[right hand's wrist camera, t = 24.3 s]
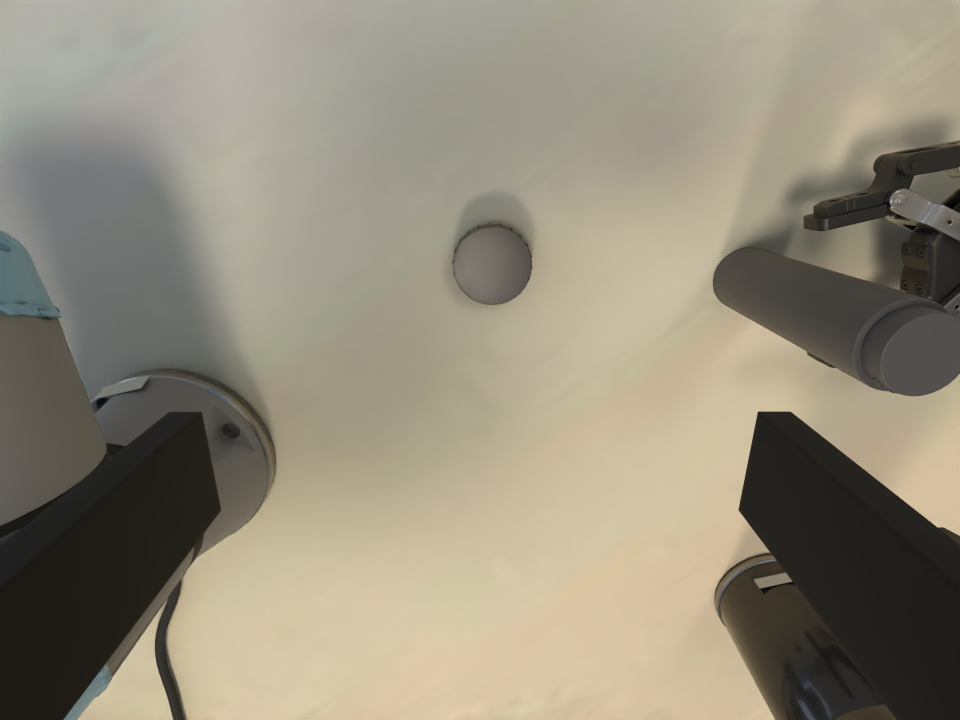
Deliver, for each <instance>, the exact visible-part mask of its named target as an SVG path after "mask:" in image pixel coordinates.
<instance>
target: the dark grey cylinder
mask: <svg viewBox="0 0 960 720" xmlns="http://www.w3.org/2000/svg"><path fill="white" fill-rule="evenodd" d="M713 287H714V292H715V294H716V296H717V298H718V299H719V300H720V301H721V302H722V303H723V304H724V305H726V306H728V307H729V308H731V309H733V310H735V311H737V312H738V313H740V314H742V315H744V316H745V317H747V318H749V319H751V320H753V321H754V322H756V323H758V324H760V325H761V326H763V327H765V328H767V329H769V330H770V331H772V332H774V333H776V334H777V335H779V336H781V337H783V338H784V339H786V340H788V341H790V342H792V343H793V344H795V345H797V346H799V347H800V348H802V349H804V350H806V351H808V352H809V353H811V354H813V355H815V356H816V357H818V358H820V359H822V360H823V361H825V362H827V363H829V364H831V365H832V366H834V367H836V368H838V369H839V370H841V371H843V372H845V373H847V374H848V375H850V376H852V377H854V378H855V379H857V380H859V381H861V382H863V383H864V384H866V385H868V386H870V387H872V388H874V389H878V390H882V391H890V392H892V393H898V394H902V395H906V396H921V395H926V394H930V393H933V392H935V391H937V390H940V389H941V388H943V387H945V386H946V385H948V384H949V383H950V382H952V381H953V380H954V379H955V378H956V377H957V376H958V375H959V374H960V316H959V317H956V316H954V315H951V314H949V313H948V312H947V310H946V309H945V308H944V307H943V306H941V305H940V304H938V303H937V302H935V301H932V300H929V299H926V298H923V297H919V296H916V295H912V294H909V293H906V292H902V291H899V290H895V289H892V288H889V287H885V286H882V285H879V284H875V283H872V282H868V281H865V280H862V279H858V278H855V277H851V276H848V275H845V274H841V273H838V272H834V271H831V270H828V269H824V268H821V267H818V266H814V265H811V264H807V263H804V262H801V261H797V260H794V259H790V258H787V257H784V256H780V255H777V254H774V253H770V252H767V251H763V250H760V249H756V248H742V249H739V250H736V251H734V252H732V253H731V254H729V255H728V256H727V257H725V258H724V259H723V260H722V261H721V263H720V264H719V266H718V267H717V269H716V272H715V275H714V279H713Z"/></svg>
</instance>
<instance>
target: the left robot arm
mask: <svg viewBox="0 0 960 720" xmlns="http://www.w3.org/2000/svg"><path fill="white" fill-rule="evenodd" d="M873 169H874V172H875V173H876V176H875V179H874V181H873V183H872V185H871V186H870V187H869V188H868V189H867V190H865V191H862V192H859V193H854V194H850V195H846V196H842V197H838V198H833V199H829V200H825V201H822V202H820V203H818V204H817V205H815V206H814V213H813V214H809V215H805V216H804V217H803V218H804V228H805V229H811V230H816V231H825V230H831V229H835V228H839V227H843V226H848V225H852V224H856V223H861V222H865V221H869V220H873V219H878V218H882V217H887V220H889V221H891V222H893V223H895V224H896V225H898V226H900V227H902V228H904V229H906V230H908V231H910V232H911V233H910V235H909V236H908V238H907V241H905V242H902V245H901V255H902V259H903V263H904V268H903V272H902V275H901V279H900V290H903V291H905V292H906V293H909V294H912V295H916V296H919V297H923V298H926V299H929V300H932V301H935V302H937V303H938V304H940V305H941V306H943V307H944V308H945V309H946V310H947V312H948V313H949V314H951V315H954V316H956V317H959V316H960V189H958V190H957V191H955V192H954V193H953V194H952V195H951V196H950V197H949V198H947V199H946V200H945V201H944V202H943V203H942V204H938V203H934V202H931V201H929V200H927V199H925V198H923V197H921V196H919V195H917V194H915V193H913V192H911V191H909V188H910V185H911V182H912V180H913V177H914V176H915V175H920V174H926V173H931V172H937V171H942V170H944V171H947V174H948V176H950V177H952V178H960V141H954V142H949V143H943V144H938V145H932V146H927V147H921V148H916V149H910V150H905V151H899V152H894V153H888V154H883V155H881V156H879V157H878V158H877V159H876V161H875V162H874V166H873ZM807 354H808V355H809V356H810V357H812V358H814V359H816V360H817V361H819V362H822V363H824V364H825V365H827V366H829V367H833V368H836V367H834V366H832V365H831V364H829V363H827V362H825V361H823V360H822V359H820V358H818V357H816V356H815V355H813V354H811V353H809V352H808V351H807ZM715 608H716V611H717V614H718V616H719V618H720V620H721V621H722V623H723V625H724V626H725V627H726V628H727V630H728V632H729V634H730V636H731V638H732V640H733V641H734V643H735V645H736V647H737V649H738V651H739V653H740V655H741V657H742V659H743V661H744V662H745V664H746V666H747V668H748V670H749V672H750V674H751V676H752V677H753V679H754V681H755V683H756V685H757V687H758V689H759V690H760V692H761V694H762V696H763V698H764V700H765V702H766V704H767V705H768V707H769V709H770V711H771V713H772V715H773V717H774V718H775V720H896V719H895V717H894V716H893V715H892V713H891V712H890V711H889V709H888V708H887V707H886V705H885V704H884V703H883V701H882V700H881V699H880V697H879V696H878V695H877V693H876V692H875V691H874V689H873V688H872V687H871V685H870V684H869V683H868V681H867V680H866V679H865V677H864V676H863V675H862V673H861V672H860V671H859V669H858V668H857V667H856V665H855V664H854V663H853V661H852V660H851V659H850V657H849V656H848V655H847V653H846V652H845V651H844V649H843V648H842V647H841V645H840V644H839V643H838V642H837V640H836V639H835V638H834V636H833V635H832V634H831V632H830V631H829V630H828V628H827V627H826V626H825V624H824V623H823V622H822V620H821V619H820V618H819V616H818V615H817V614H816V612H815V611H814V610H813V608H812V607H811V606H810V604H809V603H808V602H807V600H806V599H805V598H804V596H803V595H802V594H801V592H800V591H799V590H798V588H797V587H796V586H795V584H794V583H793V582H792V580H791V579H790V578H789V576H788V575H787V574H786V572H785V571H784V570H783V568H782V567H781V566H780V564H779V563H778V562H777V561H776V559H775V558H774V557H773V555H763V556H759V557H755V558H752V559H750V560H747V561H745V562H743V563H741V564H740V565H738V566H737V567H735V568H734V569H732V570H731V571H730V572H729V573H728V574H727V575H726V576H725V577H724V578H723V580H722V581H721V583H720V585H719V586H718V589H717V591H716V595H715Z"/></svg>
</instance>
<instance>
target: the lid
mask: <svg viewBox="0 0 960 720" xmlns="http://www.w3.org/2000/svg"><path fill="white" fill-rule="evenodd" d="M527 247H528V245H527V243H526V244H525V242H524V241H523V239H522V238H521V235H520V234H519V235H518V234H517V233H516V232H515V231H513V230H512V228H508V227H505V226H502V225H501V224H500V225H497V224H490V223H488V224H487V225H482V226H480V227H479V226H477V228H475V229H473V230H472V231H470V232H469V231H468V233H467V234H466V235H465V236H464V238H463V239H461V240H460V243H459V245H458V247H457V249H455V252H454V253H455V257H454V260H453V268H454V275H455V278H456V281H457V283H458V285H459V287H460V288H461V290H462V291H463V292H464V293H465V294H466V295H467V296H468V297H470V298H471V299H473V300H475V301H477V302H479V303H483V304H489V305H496V304H502V303H505V302H508V301H510V300H512V299H513V298H515V297H516V296H517V295H519V294H520V293H521V292H522V291H523V289H524V288H525V286H526V285H527V283H528V281H529V279H530V275H531V269H532V261H531V257H532V256H531V254H530V252H529V250H528V248H527Z"/></svg>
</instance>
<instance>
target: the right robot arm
mask: <svg viewBox="0 0 960 720" xmlns="http://www.w3.org/2000/svg"><path fill="white" fill-rule="evenodd" d="M58 318H61V314H60V310H59V309H58V308H56V307H54V306H53V304H52V302H51V300H50V298H49V296H48V294H47V291H46V289H45V287H44V285H43V283H42V281H41V278H40V276H39V274H38V272H37V270H36V268H35V265H34V263H33V261H32V259H31V257H30V255H29V253H28V251H27V250H26V249H25V248H24V246H23V245H22V244H21V243H20V242H19V241H17V240H16V239H15V238H13V237H12V236H10V235H8V234H7V233H5V232H3V231H0V720H77V719H78V718H79V717H80V715H81V714H82V713H83V712H84V710H85V709H86V708H87V707H88V705H89V704H90V703H91V702H92V700H93V699H94V698H95V697H97V696H99V695H100V694H101V693H102V692H103V691H104V690H105V689H106V688H107V686H108V685H109V683H110V681H111V679H112V677H113V676H114V674H115V673H116V672H117V670H118V669H119V667H120V666H121V664H122V663H123V661H124V660H125V659H126V657H127V656H128V654H129V653H130V651H131V650H132V649H133V647H134V646H135V644H136V643H137V641H138V640H139V639H140V637H141V636H142V634H143V633H144V631H145V630H146V629H147V627H148V626H149V624H150V623H151V621H152V620H153V618H154V617H155V616H156V614H157V613H158V611H159V610H160V608H161V607H162V606H163V604H164V603H165V601H166V600H167V598H168V597H169V598H168V601H167V603H166V606H165V608H164V611H163V613H162V616H161V618H160V621H159V624H158V628H157V632H156V638H155V656H156V662H157V667H158V670H159V674H160V677H161V680H162V682H163V685H164V688H165V691H166V694H167V697H168V701H169V704H170V708H171V712H172V716H173V720H184V719H183V715H182V711H181V707H180V703H179V699H178V695H177V692H176V688H175V685H174V682H173V679H172V677H171V674H170V671H169V667H168V664H167V660H166V654H165V634H166V630H167V626H168V623H169V621H170V618H171V616H172V613H173V611H174V609H175V606H176V603H177V600H178V597H179V593H180V587H181V578H182V577H183V575H184V574H185V573H186V571H187V569H188V568H189V567H190V565H191V564H192V563H193V561H194V560H195V559H196V558H197V557H198V556H200V555H201V554H203V553H204V552H206V551H207V550H209V549H210V548H212V547H213V546H214V545H216V544H217V543H219V542H220V541H222V540H223V539H224V538H226V537H227V536H229V535H231V534H233V533H235V532H236V531H238V530H239V529H240V528H242V527H243V526H244V525H245V524H246V523H248V522H249V521H250V520H251V519H252V518H253V516H254V515H255V514H256V513H257V511H258V510H259V508H260V507H261V505H262V504H263V502H264V501H265V499H266V497H267V496H268V494H269V492H270V489H271V487H272V484H273V481H274V475H275V454H274V449H273V445H272V442H271V439H270V437H269V434H268V432H267V430H266V428H265V426H264V424H263V423H262V421H261V420H260V418H259V417H258V416H257V414H256V413H255V412H254V410H253V409H252V408H251V407H250V406H249V405H248V404H247V403H246V402H245V401H244V400H243V399H242V398H240V397H239V396H238V395H237V394H235V393H234V392H233V391H231V390H230V389H228V388H227V387H225V386H223V385H221V384H220V383H218V382H216V381H214V380H211V379H209V378H207V377H204V376H201V375H198V374H195V373H191V372H187V371H181V370H172V369H156V370H148V371H143V372H139V373H136V374H133V375H130V376H128V377H126V378H124V379H122V380H120V381H118V382H117V383H115V384H112V385H108V386H104V387H103V389H102V390H101V391H100V393H99V394H98V395H97V396H96V397H95V398H94V399H93V400H92V401H91V402H90V401H89V399H88V396H87V394H86V391H85V388H84V386H83V383H82V381H81V378H80V375H79V373H78V370H77V368H76V365H75V362H74V360H73V357H72V355H71V352H70V349H69V347H68V344H67V341H66V339H65V336H64V333H63V330H62V327H61V325H60V322H59V319H58ZM739 511H740V513H741V514H742V515H743V517H744V518H745V519H746V521H747V522H748V523H749V525H750V526H751V527H752V529H753V530H754V531H755V533H756V534H757V535H758V537H759V538H760V539H761V541H762V542H763V543H764V545H765V546H766V547H767V549H768V550H769V551H770V553H771V554H772V555H773V557H774V558H775V559H776V561H777V562H778V563H779V564H780V566H781V567H782V568H783V570H784V571H785V572H786V574H787V575H788V576H789V578H790V579H791V580H792V582H793V583H794V584H795V586H796V587H797V588H798V590H799V591H800V592H801V594H802V595H803V596H804V598H805V599H806V600H807V602H808V603H809V604H810V606H811V607H812V608H813V610H814V611H815V612H816V614H817V615H818V616H819V618H820V619H821V620H822V622H823V623H824V624H825V626H826V627H827V628H828V630H829V631H830V632H831V634H832V635H833V636H834V638H835V639H836V640H837V642H838V643H839V644H840V645H841V647H842V648H843V649H844V651H845V652H846V653H847V655H848V656H849V657H850V659H851V660H852V661H853V663H854V664H855V665H856V667H857V668H858V669H859V671H860V672H861V673H862V675H863V676H864V677H865V679H866V680H867V681H868V683H869V684H870V685H871V687H872V688H873V689H874V691H875V692H876V693H877V695H878V696H879V697H880V699H881V700H882V701H883V703H884V704H885V705H886V707H887V708H888V709H889V711H890V712H891V713H892V715H893V716H894V717H895V719H896V720H960V536H959V535H957V534H955V533H953V532H951V531H949V530H947V529H945V528H937V527H936V526H935V525H933V524H932V523H931V522H930V521H928V520H927V519H926V518H925V517H923V516H922V515H921V514H920V513H918V512H917V511H916V510H914V509H913V508H912V507H911V506H909V505H908V504H907V503H906V502H904V501H903V500H902V499H901V498H899V497H898V496H897V495H895V494H894V493H893V492H892V491H890V490H889V489H888V488H887V487H885V486H884V485H883V484H882V483H880V482H879V481H878V480H876V479H875V478H874V477H873V476H871V475H870V474H869V473H868V472H866V471H865V470H864V469H863V468H861V467H860V466H859V465H857V464H856V463H855V462H854V461H852V460H851V459H850V458H849V457H847V456H846V455H845V454H843V453H842V452H841V451H840V450H838V449H837V448H836V447H835V446H833V445H832V444H831V443H830V442H828V441H827V440H826V439H824V438H823V437H822V436H821V435H819V434H818V433H817V432H816V431H814V430H813V429H812V428H811V427H809V426H808V425H807V424H805V423H804V422H803V421H802V420H800V419H799V418H798V417H797V416H795V415H794V414H793V413H792V412H758V414H757V419H756V425H755V430H754V435H753V440H752V445H751V450H750V455H749V460H748V465H747V470H746V475H745V480H744V485H743V490H742V495H741V500H740V506H739Z"/></svg>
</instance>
